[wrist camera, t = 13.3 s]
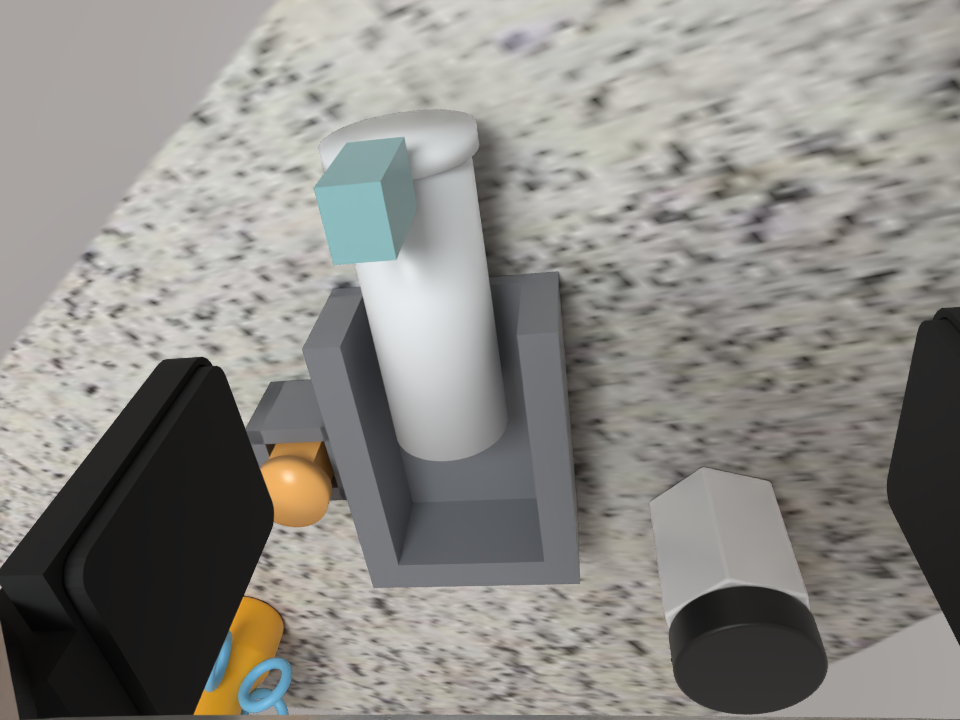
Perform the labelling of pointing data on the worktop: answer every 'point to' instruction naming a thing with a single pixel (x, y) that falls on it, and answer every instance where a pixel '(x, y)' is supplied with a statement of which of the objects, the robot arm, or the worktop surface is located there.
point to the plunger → (298, 482)
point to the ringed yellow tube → (247, 665)
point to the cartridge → (419, 273)
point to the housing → (443, 484)
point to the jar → (734, 596)
